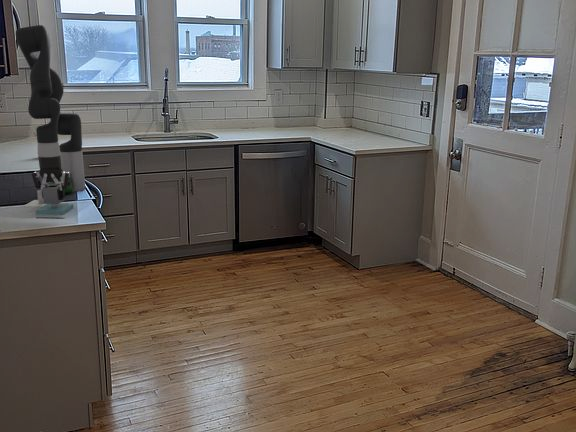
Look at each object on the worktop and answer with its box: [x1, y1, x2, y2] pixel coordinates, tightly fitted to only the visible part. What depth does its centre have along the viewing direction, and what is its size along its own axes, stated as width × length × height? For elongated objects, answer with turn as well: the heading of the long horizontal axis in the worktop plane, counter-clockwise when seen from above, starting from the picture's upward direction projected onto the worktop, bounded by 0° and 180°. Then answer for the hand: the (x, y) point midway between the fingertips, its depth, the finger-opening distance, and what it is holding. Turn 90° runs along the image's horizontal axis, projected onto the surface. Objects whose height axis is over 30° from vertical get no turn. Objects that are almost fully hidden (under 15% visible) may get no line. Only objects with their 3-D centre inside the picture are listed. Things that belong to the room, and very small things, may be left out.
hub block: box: [35, 203, 75, 220], centre depth 221 cm, size 10×10×8 cm
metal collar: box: [42, 185, 65, 204], centre depth 220 cm, size 5×5×6 cm
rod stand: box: [23, 189, 46, 208], centre depth 233 cm, size 10×10×6 cm
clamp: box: [48, 182, 74, 194], centre depth 248 cm, size 12×6×9 cm, turn 94°
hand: (54, 199), depth 221 cm, fingers closed on metal collar, 5 cm apart
